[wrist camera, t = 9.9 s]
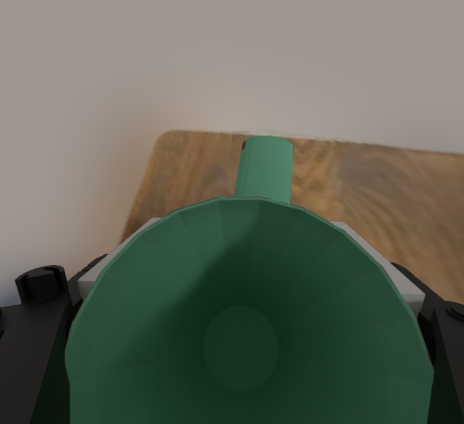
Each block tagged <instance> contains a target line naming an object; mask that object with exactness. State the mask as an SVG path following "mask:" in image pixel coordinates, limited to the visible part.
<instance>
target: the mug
mask: <svg viewBox="0 0 464 424" xmlns="http://www.w3.org/2000/svg"><path fill="white" fill-rule="evenodd" d="M293 151H294V148H293V145H292V144H291V143H290V142H289V141H287V140H285V139H282V138H279V137H275V136H255V137H251V138H248V139H247V140H246V141H245V142H244V143H243V146H242V152H241V158H240V163H239V169H238V176H237V182H236V189H235V196H234V197H217V198H214V199H210V200H207V201H203V202H200V203H197V204H193V205H190V206H186V207H183V208H180V209H176V210H175V211H173V212H171V213H170V214H168V215H167V216H165V217H163V218H162V219H160V220H158V221H157V222H155V223H153V224H152V225H150V226H148V227H147V228H145V229H144V230H142V231H140V232H139V233H137V234H136V235H135V236H134V237H133V238H132V239H131V240H130V241H129V242H128V243H127V244H126V245H125V247H124V248H123V249H122V250H121V251H120V252H119V253H118V254H117V255H116V256H115V257H114V258H113V259H112V260H111V261H110V262H109V263H108V264H107V265H106V266H105V267H104V268H103V269H102V270H101V272H100V274H99V275H98V277H97V279H96V281H95V282H94V284H93V286H92V288H91V289H90V291H89V293H88V295H87V296H86V298H85V300H84V302H83V303H82V305H81V307H80V309H79V310H78V312H77V314H76V315H75V317H74V319H73V321H72V323H71V327H70V330H69V334H68V337H67V341H66V344H65V366H66V370H67V374H68V378H69V382H70V424H427V419H428V411H429V404H430V396H431V389H432V384H433V378H434V367H433V365H432V362H431V359H430V356H429V353H428V350H427V347H426V344H425V341H424V338H423V335H422V332H421V329H420V327H419V324H418V321H417V318H416V317H415V315H414V314H413V312H412V310H411V309H410V307H409V306H408V304H407V303H406V301H405V300H404V298H403V297H402V295H401V293H400V292H399V290H398V289H397V287H396V286H395V284H394V283H393V281H392V279H391V278H390V276H389V275H388V273H387V272H386V270H385V269H384V267H383V266H382V265H381V264H380V263H379V262H378V261H377V260H376V259H374V258H373V257H372V256H371V255H370V254H369V253H368V252H367V251H366V250H365V249H364V248H363V247H362V246H361V245H360V244H359V243H357V242H356V241H355V240H354V239H353V238H352V237H351V236H350V235H349V234H348V233H347V232H346V231H345V230H343V229H341V228H340V227H338V226H336V225H334V224H332V223H330V222H329V221H327V220H325V219H323V218H321V217H320V216H318V215H316V214H314V213H312V212H311V211H309V210H307V209H305V208H303V207H300V206H296V205H292V204H290V201H291V188H292V175H293Z"/></svg>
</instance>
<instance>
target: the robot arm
mask: <svg viewBox="0 0 464 424" xmlns="http://www.w3.org/2000/svg"><path fill="white" fill-rule="evenodd" d="M160 219H162V218H151V219H150V220H149V221H148V222H147V223H145V224H144V225H143V226H142V227H141V228H139V229H138V230H137V231H136V232H135V233H133V234H132V235H131V236H130V237H129V238H127V239H126V240H125V241H124V242H123V243H121V244H120V245H119V246H118V247H117V248H115V249H114V250H113V251H112V252H111V253H110V254H105V255H103V256H101V257H99V258H96V259H95V260H94V261H92V262H91V263H90V264H89V265H88V266H86V267H85V268H83V269H82V271H80V272H78V273H77V274H76V275H75V276H73V277H72V278H71V279H70V280H68V281H67V279H66V275H65V271H64V268H63V267H61V266H57V265H51V266H44V267H40V268H36V269H33V270H30V271H28V272H26V273H24V274H22V275H20V276H19V277H18V278H17V279H16V280H15V282H16V285H17V289H18V292H19V295H20V299H21V304H20V305H13V306H7V307H1V308H0V424H70V382H69V378H68V374H67V370H66V366H65V344H66V341H67V337H68V334H69V330H70V327H71V323H72V321H73V319H74V317H75V315H76V314H77V312H78V310H79V309H80V307H81V305H82V303H83V302H84V300H85V298H86V296H87V295H88V293H89V291H90V289H91V288H92V286H93V284H94V282H95V281H96V279H97V277H98V275H99V274H100V272H101V270H102V269H103V268H104V267H105V266H106V265H107V264H108V263H109V262H110V261H111V260H112V259H113V258H114V257H115V256H116V255H117V254H118V253H119V252H120V251H121V250H122V249H123V248H124V247H125V245H126V244H127V243H128V242H129V241H130V240H131V239H132V238H133V237H134V236H135V235H136V234H137V233H139V232H140V231H142V230H144V229H145V228H147V227H148V226H150V225H152V224H153V223H155V222H157V221H158V220H160ZM330 223H332V224H334V225H336V226H338V227H340V228H341V229H343V230H345V231H346V232H347V233H348V234H349V235H350V236H351V237H352V238H353V239H354V240H355V241H356V242H357V243H359V244H360V245H361V246H362V247H363V248H364V249H365V250H366V251H367V252H368V253H369V254H370V255H371V256H372V257H373V258H374V259H376V260H377V261H378V262H379V263H380V264H381V265H382V266H383V267H384V269H385V270H386V272H387V273H388V275H389V276H390V278H391V279H392V281H393V283H394V284H395V286H396V287H397V289H398V290H399V292H400V293H401V295H402V297H403V298H404V300H405V301H406V303H407V304H408V306H409V307H410V309H411V310H412V312H413V314H414V315H415V317H416V318H417V321H418V324H419V327H420V329H421V332H422V335H423V338H424V341H425V344H426V347H427V350H428V353H429V356H430V359H431V362H432V365H433V367H434V378H433V384H432V389H431V396H430V404H429V411H428V419H427V424H464V305H462V304H459V303H456V302H450V301H444V300H443V299H442V298H441V297H440V296H438V295H437V294H436V293H435V292H433V291H432V290H431V289H430V288H429V287H427V286H426V285H425V284H424V283H422V282H421V281H420V280H419V279H418V278H417V277H415V276H414V275H413V274H412V273H411V272H409V271H408V270H407V269H406V268H404V267H402V266H400V265H398V264H396V263H394V262H388V261H387V260H386V259H385V258H384V257H383V256H382V255H380V254H379V253H378V252H377V251H376V250H375V249H374V248H373V247H371V246H370V245H369V244H368V243H367V242H366V241H365V240H364V239H362V238H361V237H360V236H359V235H358V234H357V233H356V232H354V231H353V230H352V229H351V228H350V227H349V226H348V225H347V224H345V223H344V222H330Z"/></svg>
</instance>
